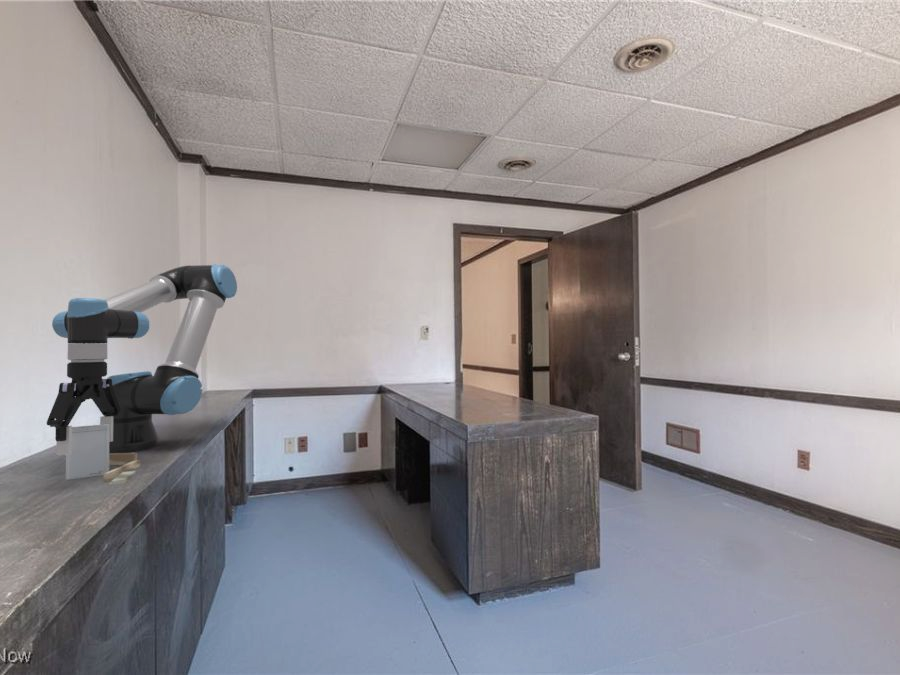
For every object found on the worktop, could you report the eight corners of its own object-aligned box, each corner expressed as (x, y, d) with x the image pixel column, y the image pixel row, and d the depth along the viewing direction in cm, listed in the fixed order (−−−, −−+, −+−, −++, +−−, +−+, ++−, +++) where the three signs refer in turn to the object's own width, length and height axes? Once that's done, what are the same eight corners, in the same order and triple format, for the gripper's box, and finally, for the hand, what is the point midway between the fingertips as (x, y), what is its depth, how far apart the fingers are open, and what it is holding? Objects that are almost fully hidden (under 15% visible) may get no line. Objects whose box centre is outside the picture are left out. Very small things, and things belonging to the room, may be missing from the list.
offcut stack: (124, 476, 106) (123, 471, 106) (138, 475, 107) (138, 470, 107) (108, 487, 98) (108, 481, 98) (124, 485, 99) (124, 479, 99)
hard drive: (108, 475, 106) (108, 425, 106) (64, 480, 102) (64, 428, 102) (109, 473, 107) (109, 423, 107) (67, 478, 103) (67, 427, 103)
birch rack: (97, 465, 115) (97, 453, 115) (148, 463, 116) (148, 452, 116) (48, 484, 99) (48, 471, 99) (108, 482, 100) (108, 469, 100)
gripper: (107, 359, 117) (106, 437, 116) (25, 363, 92) (23, 461, 92) (136, 359, 117) (135, 436, 117) (62, 362, 93) (61, 460, 92)
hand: (86, 447), depth 104 cm, fingers open, 13 cm apart
